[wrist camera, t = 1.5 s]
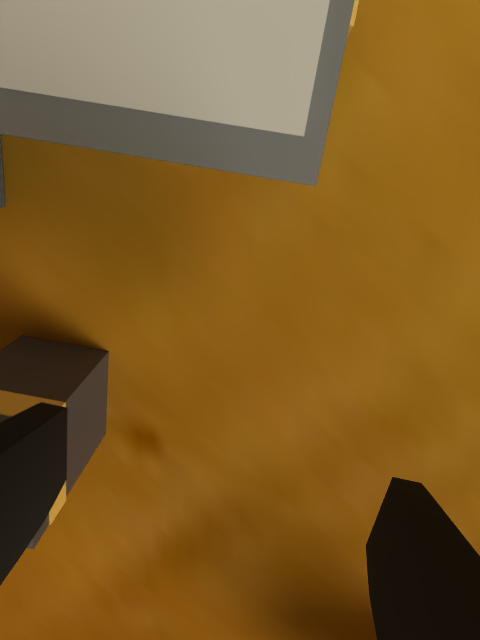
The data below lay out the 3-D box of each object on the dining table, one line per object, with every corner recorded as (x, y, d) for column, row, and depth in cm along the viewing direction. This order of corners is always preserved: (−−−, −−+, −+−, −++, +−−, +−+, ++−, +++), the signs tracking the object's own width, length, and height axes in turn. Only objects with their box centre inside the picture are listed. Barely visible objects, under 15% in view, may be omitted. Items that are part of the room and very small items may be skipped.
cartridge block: (24, 419, 21) (-79, 527, 15) (20, 334, 20) (-99, 418, 14) (106, 434, 21) (35, 550, 15) (109, 350, 19) (30, 443, 13)
